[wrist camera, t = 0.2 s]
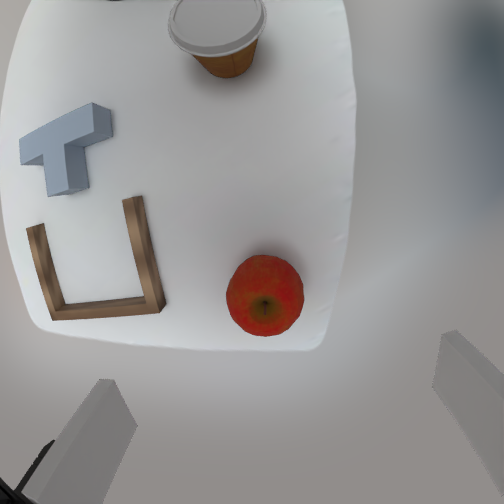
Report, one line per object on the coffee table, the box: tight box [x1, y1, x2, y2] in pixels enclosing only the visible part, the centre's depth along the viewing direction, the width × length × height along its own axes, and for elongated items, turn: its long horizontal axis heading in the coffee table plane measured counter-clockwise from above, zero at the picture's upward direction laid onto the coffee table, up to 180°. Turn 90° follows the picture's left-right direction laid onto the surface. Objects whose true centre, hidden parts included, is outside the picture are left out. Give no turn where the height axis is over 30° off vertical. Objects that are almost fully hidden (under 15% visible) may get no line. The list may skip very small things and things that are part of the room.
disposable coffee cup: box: [168, 0, 267, 78], centre depth 26 cm, size 10×10×12 cm
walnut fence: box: [26, 196, 166, 321], centre depth 37 cm, size 15×20×3 cm
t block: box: [19, 103, 113, 197], centre depth 32 cm, size 10×14×5 cm
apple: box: [226, 255, 304, 337], centre depth 33 cm, size 9×8×11 cm
